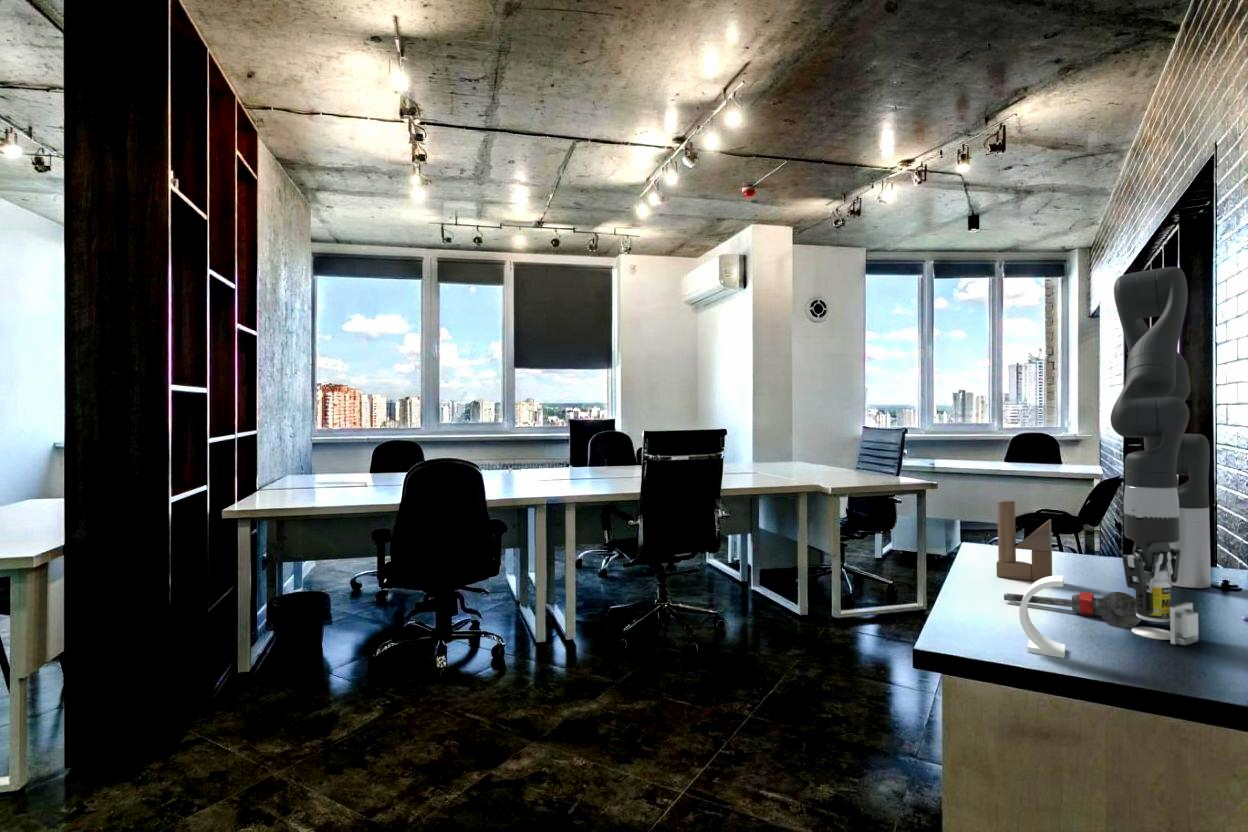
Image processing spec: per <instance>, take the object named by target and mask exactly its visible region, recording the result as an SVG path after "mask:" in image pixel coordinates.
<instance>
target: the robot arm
mask: <svg viewBox="0 0 1248 832" xmlns="http://www.w3.org/2000/svg"><path fill="white" fill-rule="evenodd" d="M1188 295H1189V291H1188V283H1187V278H1186V275H1185V272H1184V271H1183V270H1182V268H1180V267H1177V266H1168V267H1167V266H1165V267H1159V268H1153V269H1147V270H1142V271H1136V272H1130V273H1127V274H1122V275H1120V276H1118V278H1116V280H1115V282H1114V286H1113V297H1114V304H1115V306H1116V307H1115V308H1116V311H1117V314H1118V317H1119V320H1120V324H1121V328H1122V332H1123V335H1124V337H1125V342H1126V346H1127V350H1128V356H1127V361H1126V376H1125V383H1124V385H1123V388H1122V389H1121V392H1120V394H1119V395H1118V398H1117V399H1116V401H1115V403H1114V405H1113V407H1112V410H1111V413H1110V425H1111V428H1112V429H1113V431H1114V432H1115V433H1116V434H1118V435H1119V436H1121V437H1123V438H1140V439H1141V438H1143V446H1144V450H1140V451H1132V452H1130V453H1127V455H1126V456H1125V458H1124V493H1123V494H1124V495H1123V529H1124V530H1123V531H1124V532H1123V534H1124V537H1125V538H1127V539H1128V540H1132V541H1133V542H1134V543H1133V548H1132V553H1131V554H1126V553H1125V554H1123V555H1122V559H1121V560H1122V563H1123V570H1124V576H1125V580H1126V581H1125V583H1126V587H1127V588H1129V589H1133V590H1134V591H1135V599H1136V610H1137V612H1139V613H1143V614H1147V615H1149V614H1152V613H1153V593H1151V592H1152V590H1153V584H1154V581H1155V580H1157V579H1158V575H1159V571H1162V570H1165V571H1167V575H1168V578H1167V580H1166V582H1168V583H1169V584H1170V589H1171V588H1172V587H1173V586H1174V587H1181V588H1191V589H1192V588H1193V589H1204V588H1205V589H1207V588H1210V587H1211V582H1212V581H1211V577H1212V576H1211V538H1210V537H1211V535H1210V534H1211V531H1210V529H1211V527H1210V526H1211V525H1210V495H1209V494H1210V493H1209V492H1210V489H1209V487H1210V486H1209V478H1210V477H1209V475H1210V460H1211V459H1210V457H1211V456H1210V455H1211V450H1210V443H1209V440H1208V437H1206V435H1204V434H1199V433H1185V432H1186V431H1187V430H1186V429H1187V427H1188V424H1189V420H1190V409H1189V406H1188V405H1187V404H1186V400H1187V399H1188V397H1189V396H1190V393H1191V381H1190V373H1189V367H1188V363H1187V361H1186V360H1185V358H1184V356H1182V355H1181V354H1180V353H1179V352H1178V345H1179V341H1180V337H1181V334H1182V329H1183V325H1184V322H1185V321H1184V320H1185V316H1186V312H1187V311H1186V310H1187V306H1188ZM1154 317H1159V318H1158V319H1157V321H1156V322H1155V323H1154V324H1153V325H1152V326H1151V328H1149V327H1148V325H1147V323H1146V322H1145V320H1144V319H1147V318H1154ZM1177 476H1188V480H1187V481H1186V482H1185V483H1183V484H1181V485H1179V486H1178V480H1177ZM1144 571H1147V572H1151V573H1145V572H1144ZM1146 578H1147V584H1146Z"/></svg>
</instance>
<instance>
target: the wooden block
mask: <svg viewBox="0 0 1248 832" xmlns="http://www.w3.org/2000/svg"><path fill="white" fill-rule="evenodd" d="M996 506H997V544H998V545H997V547H998V552H997V553H998V560H997V561H996V564H995V565H996V577H998V578H1005V579H1006V578H1007V579H1012V580H1013V579H1014V580H1020V581H1021V580H1022V581H1030V582H1033V583H1034V582H1036V581H1038V580H1040V579H1042V578H1045V577H1049V576H1053V547H1052V546H1053V545H1052V544H1053V543H1052V542H1053V541H1052V519H1051V518H1050V519H1048V520H1047V521H1046V522H1044V523H1043V524H1042V525H1040V526H1039V527H1038V528H1037V529H1035V530H1034V531H1033V532H1032V533H1030V534H1029V535H1028V536H1026V538H1023V540H1022V541H1020V542H1019V543H1018V544H1016V502H1015V500H1013V499H999V500H997V505H996ZM1016 549H1017V550H1026V551H1027V550H1028V551H1031V563H1029V562H1026V561H1019V560H1017V554H1016V553H1017V551H1016Z"/></svg>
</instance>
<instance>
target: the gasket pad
mask: <svg viewBox="0 0 1248 832" xmlns="http://www.w3.org/2000/svg"><path fill="white" fill-rule="evenodd" d="M1131 632H1132V633H1133V634H1135V635H1138V636H1140V637H1145V638H1148V639H1153V640H1161V641H1162V640H1163V641H1164V640H1165V641H1167V640H1168V641H1169V640H1170V641H1171V636H1170V630H1166V629H1161V628H1158V627H1150V626H1134V627H1132V628H1131Z"/></svg>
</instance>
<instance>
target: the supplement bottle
mask: <svg viewBox="0 0 1248 832" xmlns="http://www.w3.org/2000/svg"><path fill="white" fill-rule="evenodd" d="M1144 572H1145V573H1151V572H1147V571H1144ZM1167 578H1168V575H1167V571H1165V570H1162V571H1159V575H1158V579H1157V580H1155V581H1154V584H1153V590H1152V592H1151V593H1153V613H1152V614H1149V615H1147V614H1143V613H1139V612H1137V610H1136V616H1137V617H1139V618H1141V619H1144V620H1143V621H1146V620H1148V621H1149V622H1156V623H1168V622H1169V623H1170V607H1172V606H1171V605H1172V604H1171V588H1170V584H1169V583H1168V582H1166V580H1167ZM1146 584H1147V578H1146Z"/></svg>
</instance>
